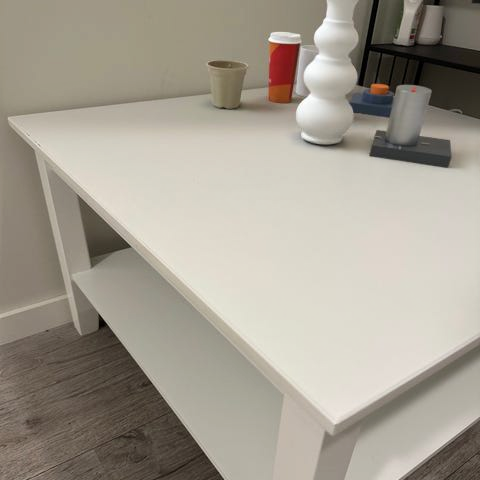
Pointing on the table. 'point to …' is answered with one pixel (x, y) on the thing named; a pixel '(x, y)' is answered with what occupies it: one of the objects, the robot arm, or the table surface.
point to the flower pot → (226, 82)
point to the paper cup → (282, 65)
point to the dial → (407, 114)
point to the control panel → (413, 150)
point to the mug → (305, 59)
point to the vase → (330, 77)
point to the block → (372, 103)
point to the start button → (379, 89)
